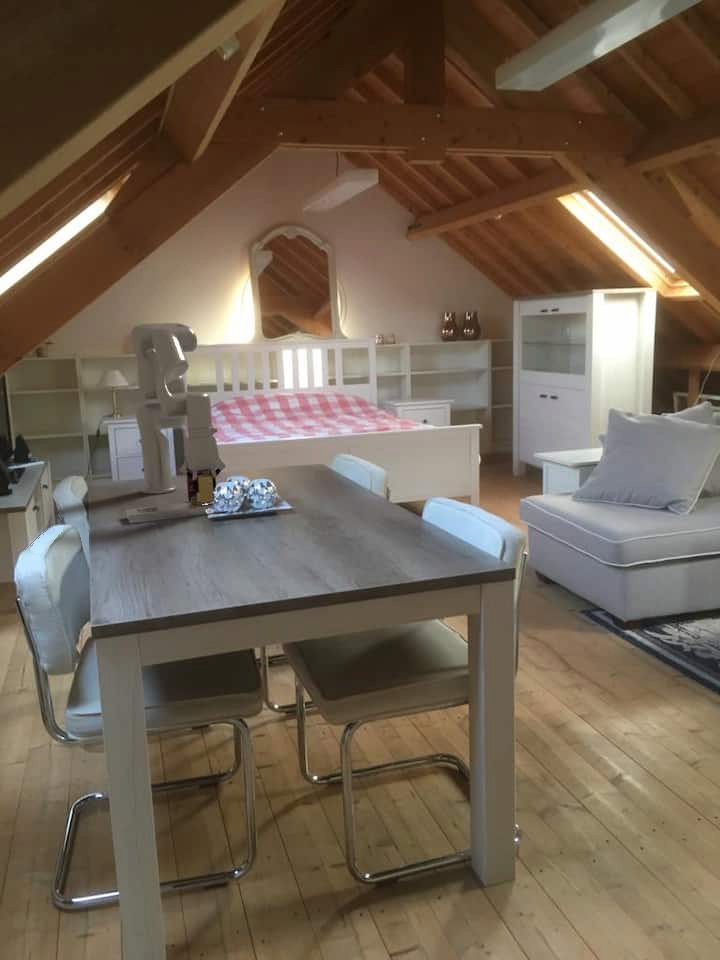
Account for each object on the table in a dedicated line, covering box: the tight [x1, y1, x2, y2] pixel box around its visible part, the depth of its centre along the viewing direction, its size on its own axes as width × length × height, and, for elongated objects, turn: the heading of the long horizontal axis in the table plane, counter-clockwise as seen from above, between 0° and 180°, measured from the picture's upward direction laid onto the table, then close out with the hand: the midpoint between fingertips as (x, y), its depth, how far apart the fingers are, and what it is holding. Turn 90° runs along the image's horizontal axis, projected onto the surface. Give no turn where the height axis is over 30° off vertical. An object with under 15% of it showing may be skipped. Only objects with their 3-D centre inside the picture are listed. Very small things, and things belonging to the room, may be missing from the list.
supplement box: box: [186, 468, 211, 502], centre depth 270 cm, size 9×5×16 cm, turn 108°
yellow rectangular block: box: [196, 474, 214, 503], centre depth 255 cm, size 4×4×8 cm
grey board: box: [125, 501, 214, 524], centre depth 253 cm, size 9×30×3 cm, turn 113°
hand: (204, 490), depth 255 cm, fingers closed on yellow rectangular block, 4 cm apart
